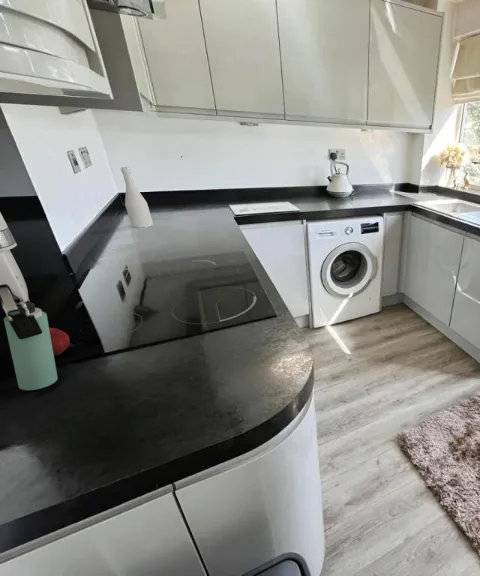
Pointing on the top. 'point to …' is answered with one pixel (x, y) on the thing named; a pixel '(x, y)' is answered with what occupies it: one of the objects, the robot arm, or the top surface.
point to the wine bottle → (135, 203)
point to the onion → (58, 341)
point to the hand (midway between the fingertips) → (30, 328)
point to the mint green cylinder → (33, 354)
